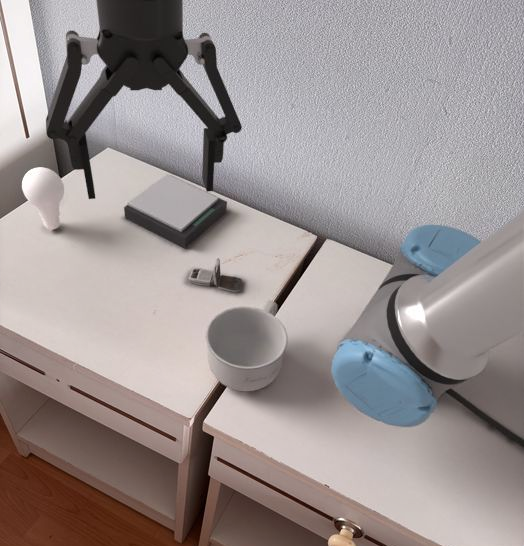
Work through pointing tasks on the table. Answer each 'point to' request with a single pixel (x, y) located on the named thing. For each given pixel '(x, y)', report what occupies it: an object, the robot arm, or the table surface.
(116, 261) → the table surface
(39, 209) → the lightbulb
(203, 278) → the strap clip
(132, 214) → the scale
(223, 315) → the teacup
